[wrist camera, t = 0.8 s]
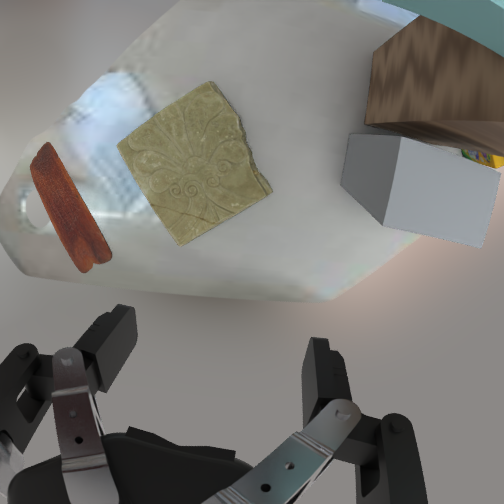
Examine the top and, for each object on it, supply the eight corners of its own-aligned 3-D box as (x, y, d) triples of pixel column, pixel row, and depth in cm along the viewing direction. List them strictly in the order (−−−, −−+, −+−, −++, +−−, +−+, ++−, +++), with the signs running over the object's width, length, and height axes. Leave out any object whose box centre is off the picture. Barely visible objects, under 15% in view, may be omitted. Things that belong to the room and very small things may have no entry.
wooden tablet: (117, 254, 53) (113, 258, 52) (85, 274, 56) (81, 277, 54) (54, 135, 45) (49, 135, 44) (27, 163, 48) (21, 165, 46)
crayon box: (450, 118, 38) (491, 119, 27) (463, 114, 37) (504, 115, 27) (462, 160, 40) (503, 171, 29) (475, 155, 40) (516, 165, 29)
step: (349, 133, 41) (401, 136, 22) (420, 152, 41) (500, 173, 22) (340, 185, 44) (382, 226, 25) (409, 200, 44) (481, 248, 25)
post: (373, 52, 36) (495, -37, 6) (440, 75, 36) (592, 49, 6) (364, 124, 41) (504, 122, 11) (432, 144, 40) (592, 183, 11)
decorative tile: (183, 243, 51) (176, 251, 48) (122, 143, 45) (111, 144, 42) (282, 189, 46) (282, 194, 43) (216, 78, 41) (211, 73, 37)
